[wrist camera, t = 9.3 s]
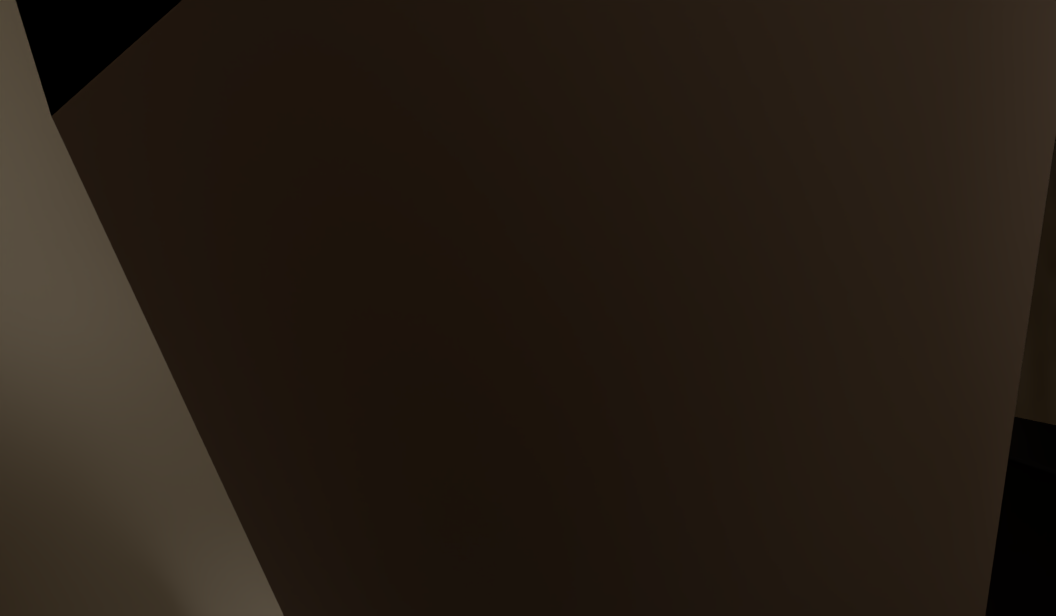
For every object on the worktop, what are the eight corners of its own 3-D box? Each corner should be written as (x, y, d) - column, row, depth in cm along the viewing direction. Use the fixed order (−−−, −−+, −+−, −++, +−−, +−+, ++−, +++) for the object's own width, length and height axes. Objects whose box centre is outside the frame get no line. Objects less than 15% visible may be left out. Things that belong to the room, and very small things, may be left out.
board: (816, -157, 12) (1051, -239, 8) (817, 521, 18) (949, 642, 14) (-437, 58, 8) (-1024, 80, 4) (123, 817, 14) (70, 1076, 11)
